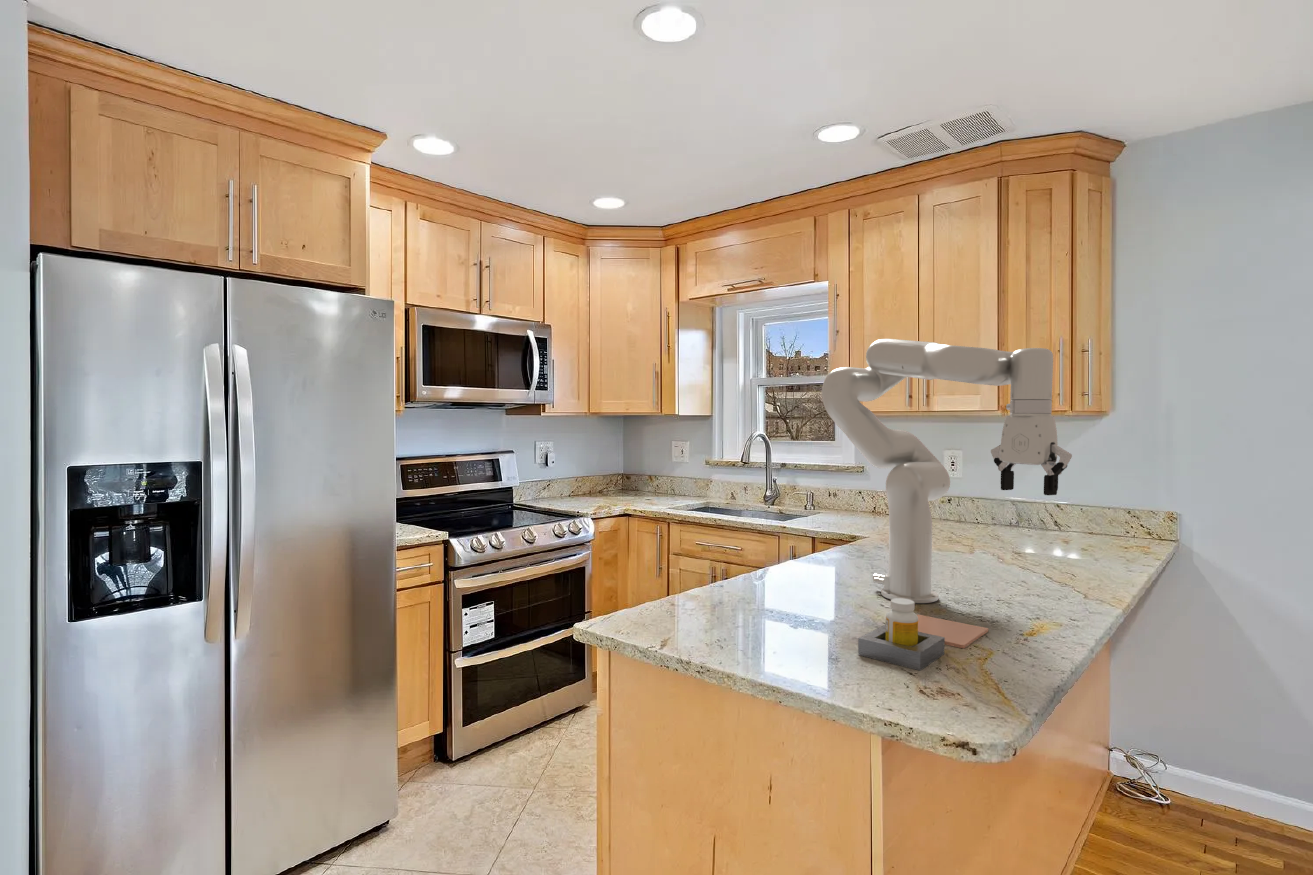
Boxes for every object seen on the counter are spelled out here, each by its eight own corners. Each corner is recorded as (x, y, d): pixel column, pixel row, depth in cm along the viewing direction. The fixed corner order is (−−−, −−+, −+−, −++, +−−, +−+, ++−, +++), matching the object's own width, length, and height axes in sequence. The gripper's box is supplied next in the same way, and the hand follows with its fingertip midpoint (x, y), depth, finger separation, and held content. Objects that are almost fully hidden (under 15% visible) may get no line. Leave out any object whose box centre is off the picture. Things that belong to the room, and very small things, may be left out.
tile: (889, 632, 135) (889, 628, 135) (917, 617, 145) (917, 614, 145) (963, 648, 126) (963, 645, 126) (988, 631, 136) (988, 628, 136)
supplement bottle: (878, 651, 123) (879, 598, 123) (901, 647, 126) (902, 595, 126) (901, 661, 119) (902, 606, 118) (924, 657, 121) (925, 602, 121)
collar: (858, 654, 122) (858, 637, 122) (884, 640, 130) (885, 624, 130) (920, 670, 114) (920, 652, 114) (944, 653, 123) (944, 637, 122)
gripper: (981, 409, 147) (979, 488, 148) (1058, 408, 132) (1056, 497, 132) (1005, 409, 151) (1003, 487, 151) (1083, 409, 135) (1081, 496, 136)
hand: (1028, 492), depth 142 cm, fingers open, 9 cm apart
